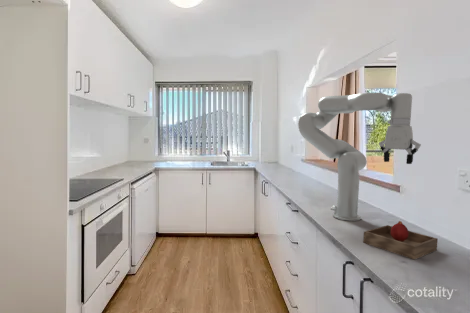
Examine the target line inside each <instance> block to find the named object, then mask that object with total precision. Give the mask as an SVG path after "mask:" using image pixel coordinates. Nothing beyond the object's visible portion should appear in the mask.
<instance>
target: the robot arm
mask: <svg viewBox="0 0 470 313" xmlns="http://www.w3.org/2000/svg"><path fill="white" fill-rule="evenodd" d="M412 103H413V95H412V94H411V93H407V92H401V93H395V94H393V95H389V94H385V93H384V92H366V93H365V92H364V93H362V92H361V93H355V94H345V95H343V94H342V95H328V96H323V97H322V98H320V99H319V101H318V103H317V107H318V109H319V111H318V112H305V113H303V114H302V115H300V117H299V118H298V121H297V122H298V123H297V126H298V129H299V130H298V131H299V133H300V135H301V136H302V137H303V139H305V140H306V141H307V142H308V143H309V144H311V145H312V146H313V147H315V149H317V150H318V151H320V153H322V154H323V155H324V156H326V157H327V158H330V159H338V160H337V164H336V165H337V175H338V176H337V195H336V196H337V197H336V205H331V207H330V210H331V211H334V212H333V213H332V217H333V218H335V219H337V220H341V221H350V222H356V221H357V222H358V221H360V220H361V219H362V218H361V216H360V215H359V214H358V208H359V195H360V194H359V193H360V192H359V191H360V174H359V171H362V170H363V169H364V168H365V167H366V166H367V162H368V161H367V157H366V156H365V154H364V153H363V152H361V151H360V150H359V149H357V148H355V147H354V146H353V145H351V144H350V143H349V142H347V141H345V140H343V139H338V138H337V139H336V138H333V137H331V136H330V135H328V134H327V133H326V132H324V131H323V130H321V129H323V128H325V127H326V126H327V125H328V124H329V123H330V122H331V121H332V120H333V119H335V118H336V116H338V115H339V114H353V113H355V112H360V111H361V112H362V111H377V112H381V113H388V112H390V119H389V120H387V124H389V125H388V126H387V129H386V133H385V139H384V140H382V141H380V142H378V145H379V147H380V150H381V151H382V153H383V162H384V163H389V162H390V158H391V157H390V156H391V154H390V151H391V150H405V151H406V152H407V154H406V165H411V164H412V163H413V161H414V155H415V153H417V152H418V151H419V149H420V147H422V144H421V143H419V142H417V141H416V140H414V136H413V132H414V131H413V128H412V126H411V119H412V117H411V116H412V105H413V104H412ZM413 145H414V148H413Z"/></svg>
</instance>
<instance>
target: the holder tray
mask: <svg viewBox="0 0 470 313" xmlns="http://www.w3.org/2000/svg"><path fill="white" fill-rule="evenodd" d="M392 226H393V225H389V224H388V225H383V226H379V227H375V228H372V229H368V230H365V231H363V240H362V241H363V243H364V244H367V245H370V246H372V247H375V248H378V249H382V250H384V251H388V252H390V253H394V254H396V255H399V256H403V257H406V258H408V259H412V260H417V259H419V258H422V257H425V256H426V255H428V254H431V253H434V252H436V251H437V249H438V240H439V239H438V238H437V237H433V236H430V235H426V234H421V233H418V232H415V231H412V230H408V232H409V235H408V238H407V239H406V240H405V241H403V242H400V241H397V240H395V239H394V238H393V237H392V236H391V228H392Z"/></svg>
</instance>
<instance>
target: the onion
mask: <svg viewBox="0 0 470 313" xmlns="http://www.w3.org/2000/svg"><path fill="white" fill-rule="evenodd" d="M391 226H392V228H391V236H392V237H393V238H394V239H395V240H397V241H400V242H403V241H405V240H406V239H407V238H408V235H409V232H408V231H409V230H408V227H407V226H406V225H405V224H404V223H403V222H402V221H400V220H399V221H398V222H396V223H395V224H394V225H391Z"/></svg>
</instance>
